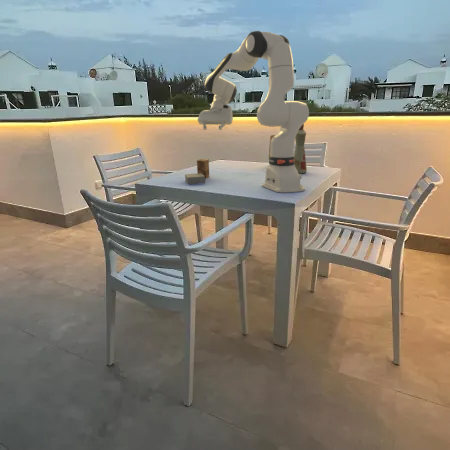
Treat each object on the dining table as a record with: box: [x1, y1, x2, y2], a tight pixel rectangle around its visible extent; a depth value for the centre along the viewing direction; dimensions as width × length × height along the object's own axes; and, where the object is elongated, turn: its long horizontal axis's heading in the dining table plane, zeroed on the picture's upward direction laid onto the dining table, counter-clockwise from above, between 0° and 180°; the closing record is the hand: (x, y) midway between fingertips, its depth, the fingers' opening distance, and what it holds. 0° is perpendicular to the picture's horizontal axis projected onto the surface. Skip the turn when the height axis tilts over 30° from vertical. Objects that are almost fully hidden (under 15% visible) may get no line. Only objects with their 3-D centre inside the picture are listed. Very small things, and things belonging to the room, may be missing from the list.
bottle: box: [293, 123, 307, 175], centre depth 189 cm, size 9×9×28 cm
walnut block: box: [196, 158, 210, 180], centre depth 183 cm, size 5×5×10 cm
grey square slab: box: [184, 173, 206, 185], centre depth 174 cm, size 9×9×4 cm
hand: (212, 129), depth 186 cm, fingers open, 8 cm apart
